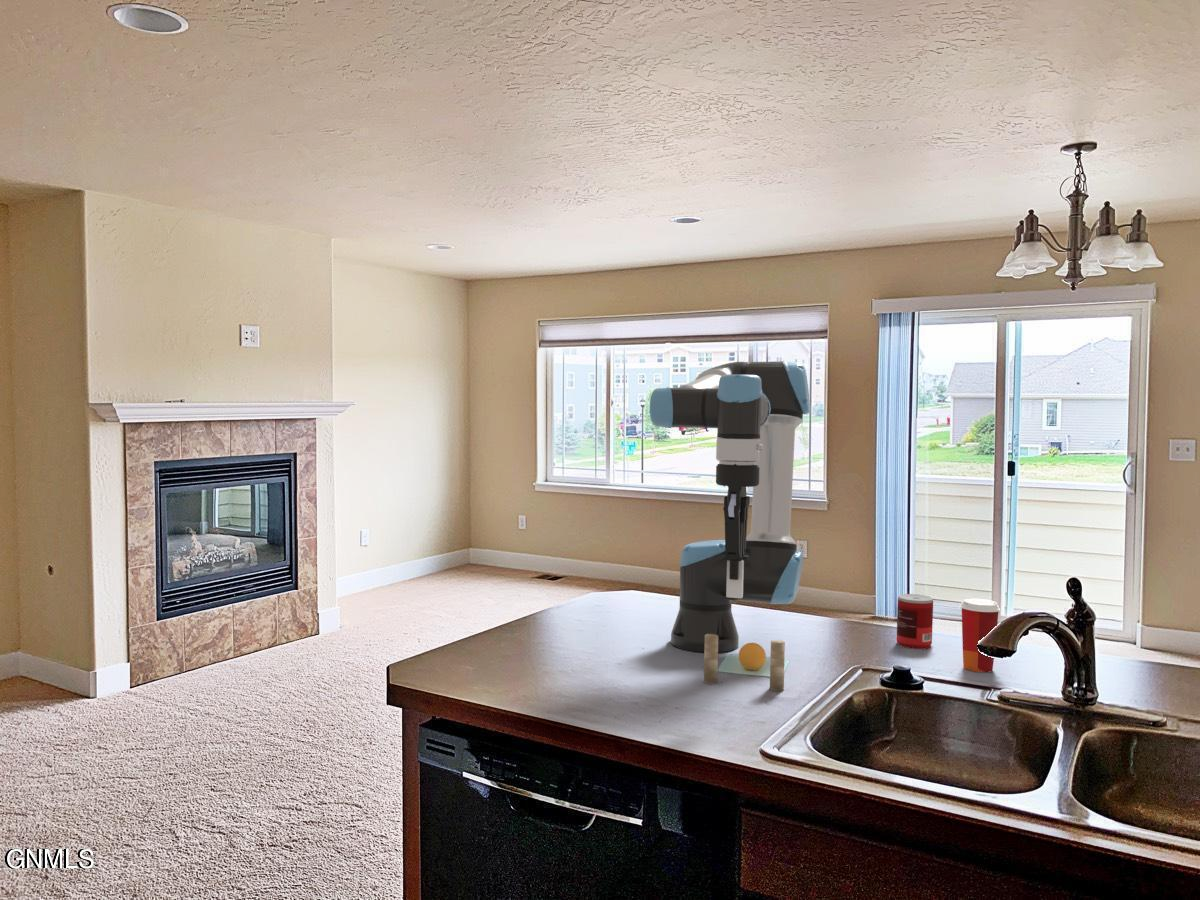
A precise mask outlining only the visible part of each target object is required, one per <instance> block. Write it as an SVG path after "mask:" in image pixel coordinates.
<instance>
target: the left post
mask: <svg viewBox="0 0 1200 900" xmlns="http://www.w3.org/2000/svg"><path fill="white" fill-rule="evenodd" d="M703 653H704V657H703V682H704V684H708V685H713V684H717V683H718V668H719V665H718V664H719V662H718V661H719V652H718V635H716V634H706V635H705V648H704V652H703Z"/></svg>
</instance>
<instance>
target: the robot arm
mask: <svg viewBox="0 0 1200 900" xmlns="http://www.w3.org/2000/svg"><path fill="white" fill-rule="evenodd" d="M806 371H807V370H806V368H805V365H803V364H802V363H800V362H798V361H785V360H782V361H779V360H778V361H734V362H729V363H724V364H720V365H718V366H714V367H710V368H708V369H706V370H703V371H702V372H700V373H699V374H698V375H697V376H696V378H695V379H694V380H692V381H690V382H689V383H686V384H684V385H681V386H680V387H669V386H667V387H657V388H655V389H654V390H652V392H651V395H650V397H649V398H650V399H649V417H650V421H651V422H652V425H654V426H655V427H658V428H659V427H661V428H668V429H671V428H692V429H693V428H697V429H699V428H705V429H716V430H717V433H716V434H717V436H716V449H715V450H716V451H715V460H716V461H718V462H719V463H717V465H716V466H715V468H716V469H715V483H716V485H718V486H721V487H727V488H728V489H727V495H724V499H723V514H724V539H714V540H713V539H712V540H703V541H696V542H691V543H688V544H686V545H685V546H684V547H683V548H682V549H681V553H680V563H679V569H680V570H679V608H678V609H679V610H678V612H677V615H676V617H675V620H674V621H675V622H674V624H673V626H672V630H671V634H670V644H671V645H672V646H674V647H676V648H678V649H681V650H685V651H691V652H700V653H704V648H705V635H706V634H716V635H718V653H722V652H728V651H729V652H730V651H733V650H735V649H737V648H738V647H739V644H740V643H739V640H740V638H739V637H740V636H739V633H738V630H737V626H736V623H735V619H734V615H733V613H732V602H733V601H738V602H750V603H760V604H761V603H762V604H770V605H774V604H776V605H789V604H791V603H793V602H794V600H796V598H797V597H796V596H797V594H798V591H799V588H800V581H801V577H802V572H803V563H804V554H803V552H801V551H800V550H797V545H798V543H797V541H796V540H794V538H792V535H791V525H792V524H791V523H792V522H791V521H792V500H793V497H792V496H793V479H794V478H793V477H794V458H795V457H794V456H795V436H796V435H795V434H796V429H797V428H798V427H799V426H800V425H801V424H802V423H803V415H808V414H809V413H810V412H811V410H810V409H811V405H810V403H811V401H810V392H809V391H810V390H809V384H808V375H807V372H806ZM749 487H750V488H751V487H752V501H751V502H752V503H751V502H750V500H751V499H750V496H749V495H747V488H749ZM750 504H751V522H750V523H751V524H750V533H749V534H748V532H747V531H748V518H749V507H750ZM747 534H748V535H747Z"/></svg>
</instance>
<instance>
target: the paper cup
mask: <svg viewBox="0 0 1200 900" xmlns="http://www.w3.org/2000/svg"><path fill="white" fill-rule="evenodd" d="M960 603H961V604H960V605H959V606H958V607H959V608H961V636H962V637H961V638H962V663H963V669H965V670H967V671H970V672H976V673H991V672H993V671H994V670H993V669H994V661H995V657H994V658H991V657H988V656H985V655H983V654H981V653H980V652H979V651H978V648H977V644H978V641H979V640H981V639H982V638H983V637H985V636H986V635H987V634H988V633H989V632H990V631H991V630H992V629H993V628H994V627H995V626H997V627H998V619H999V612H1000V611H1001V609H1000V607H999V604H998V602H997V601H994V600H990V599H983V598H965V599H963V600H962V601H961V602H960ZM990 671H991V672H990Z"/></svg>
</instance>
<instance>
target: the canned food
mask: <svg viewBox="0 0 1200 900" xmlns="http://www.w3.org/2000/svg"><path fill="white" fill-rule="evenodd" d="M896 614H897V615H896V618H897V619H896V643H897V644H898V645H899V646H900V647H903V648H906V647H907V648H906V649H912V648H913V649H916V650H925V649H924V648H926V649H929V648H931V646H932V643H933V624H934V623H933V621H934V618H933V617H934V598H933V597H931V596H928V595H924V594H915V593H902V594H899V595H898V596H897V612H896Z"/></svg>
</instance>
